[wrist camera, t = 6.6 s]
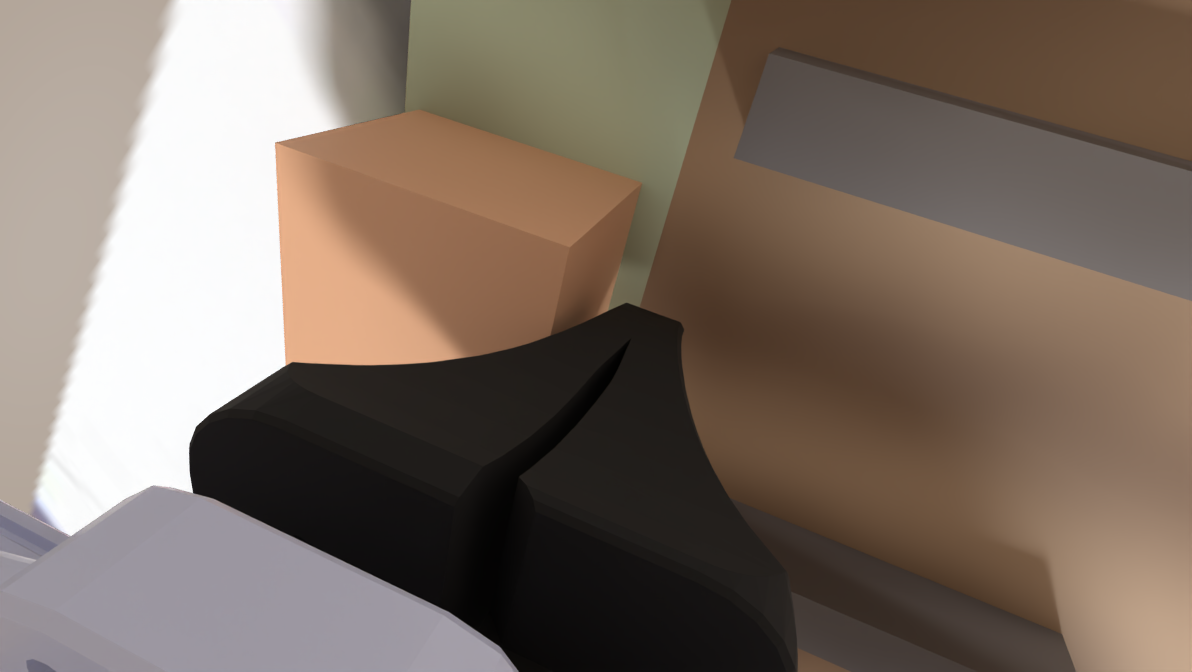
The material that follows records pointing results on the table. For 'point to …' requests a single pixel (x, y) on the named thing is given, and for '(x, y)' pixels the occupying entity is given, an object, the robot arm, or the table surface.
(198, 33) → the table surface
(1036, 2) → the board
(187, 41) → the table surface
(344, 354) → the terracotta block
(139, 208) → the table surface
